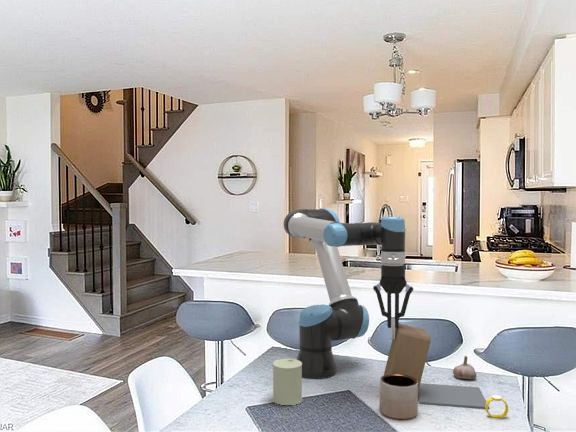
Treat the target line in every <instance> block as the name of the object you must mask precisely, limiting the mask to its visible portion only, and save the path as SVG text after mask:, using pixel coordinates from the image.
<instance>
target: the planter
mask: <svg viewBox="0 0 576 432" xmlns="http://www.w3.org/2000/svg"><path fill="white" fill-rule="evenodd" d="M418 403H419V398H418V381H417V380H416V379H415V378H413V377H411V376H408V375H403V374H387V375H384V374H383V375H382V376H380V378H379V411H380V413H381V414H383V415H384V416H386V417H388V418H390V419H394V420H402V421H403V420H410V419H413V418H414V417H416V416H417V415H418V412H419V411H418V410H419V405H418Z"/></svg>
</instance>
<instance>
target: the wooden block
mask: <svg viewBox="0 0 576 432" xmlns="http://www.w3.org/2000/svg"><path fill="white" fill-rule="evenodd" d="M431 341H432V339H431V337H430V335H429V334H428V331H426V330H425V328H424V329H423V328H419V327H416V326H412V325H407V324H404V323H399V327H398V328H395V339H391V344H390V348H389V353H388V357H387V360H386V363H385V364H386V365H385V369H384V372H383V376H384V375H387V374H403V375H408V376H411V377H413V378H415V379H416V380H417V381H418V390H419V386H420V383H422V382H421V381H422V378H423V374H424V371H425V370H424V369H425V365H426V361H427V359H428V354H429V348H430V346H431Z"/></svg>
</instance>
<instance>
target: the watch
mask: <svg viewBox="0 0 576 432" xmlns="http://www.w3.org/2000/svg"><path fill="white" fill-rule="evenodd" d="M493 401H496V402H500V401H502V402H503V403H504V404H505V405H504V406H505V408H504V409H505V410H504V412H502V414H500V415H499V414H491V413H490V411H489V409H488V406H489V405H490V403H491V402H493ZM484 410H485V411H486V414H487V415H488V416H489V417H490V418H493V419H494V418H495V419H503V418H505V417H506V416H507V414H508V412H509V405H508V403H507V402H506V400H505V399H504V398H503V397H502V396H501V395H498V394H493V395H491V397H490V398H488V399H487V400H486V404H485V409H484Z"/></svg>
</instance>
